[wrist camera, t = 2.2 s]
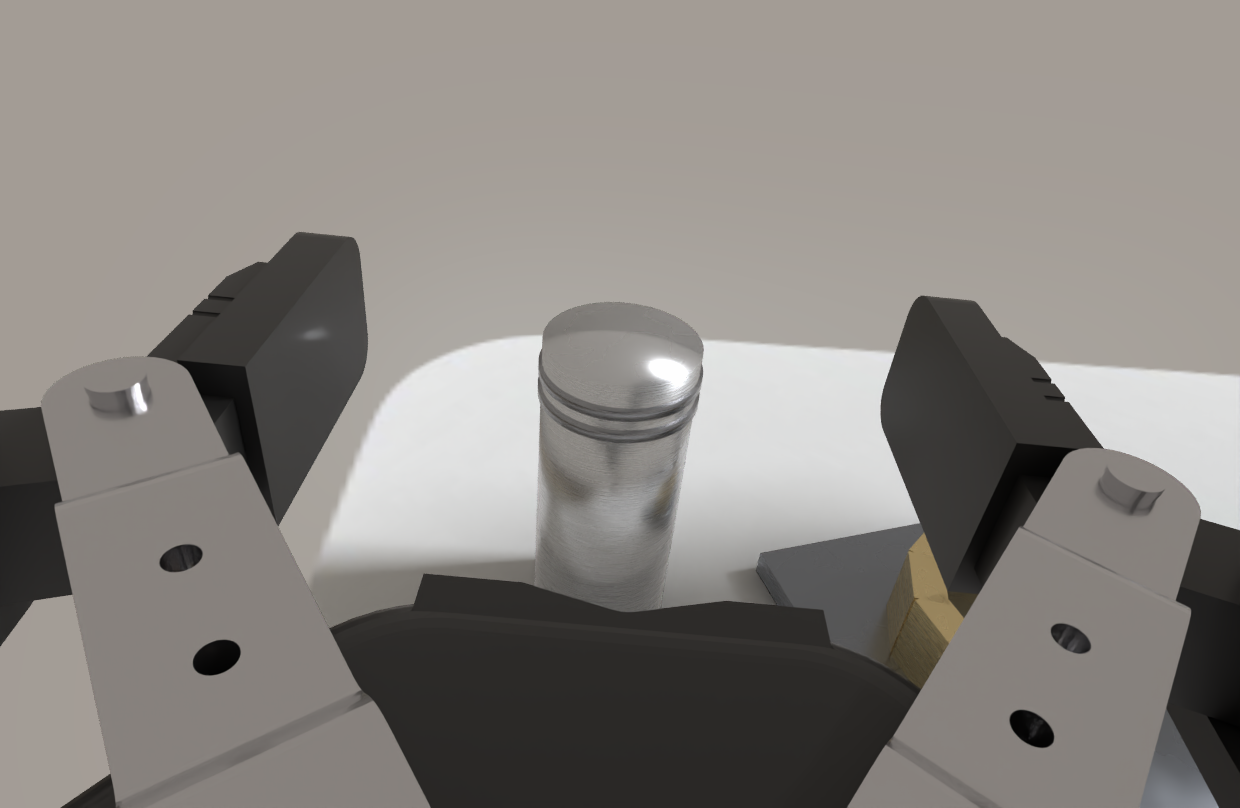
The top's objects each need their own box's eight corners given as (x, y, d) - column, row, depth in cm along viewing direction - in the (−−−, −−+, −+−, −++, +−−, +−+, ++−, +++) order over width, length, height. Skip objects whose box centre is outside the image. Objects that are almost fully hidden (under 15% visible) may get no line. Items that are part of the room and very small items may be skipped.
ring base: (1021, 518, 38) (1054, 452, 36) (1303, 797, 27) (1376, 728, 25) (756, 569, 34) (774, 499, 32) (967, 921, 23) (1017, 852, 21)
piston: (637, 544, 35) (671, 295, 28) (682, 640, 31) (734, 377, 24) (518, 565, 33) (522, 307, 26) (549, 668, 29) (563, 396, 22)
